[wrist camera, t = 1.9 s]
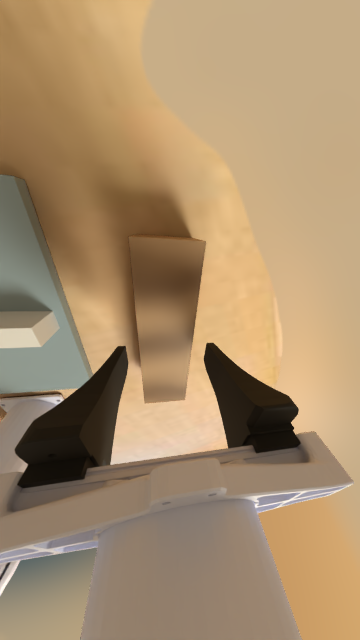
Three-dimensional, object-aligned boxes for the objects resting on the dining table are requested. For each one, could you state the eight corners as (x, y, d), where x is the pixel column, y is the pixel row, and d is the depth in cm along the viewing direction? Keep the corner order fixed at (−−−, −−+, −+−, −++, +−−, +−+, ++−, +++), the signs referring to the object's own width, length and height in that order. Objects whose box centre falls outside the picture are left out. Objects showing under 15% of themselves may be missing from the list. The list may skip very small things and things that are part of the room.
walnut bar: (179, 369, 23) (184, 399, 19) (147, 370, 23) (144, 403, 18) (191, 237, 14) (206, 241, 10) (137, 234, 14) (128, 236, 9)
